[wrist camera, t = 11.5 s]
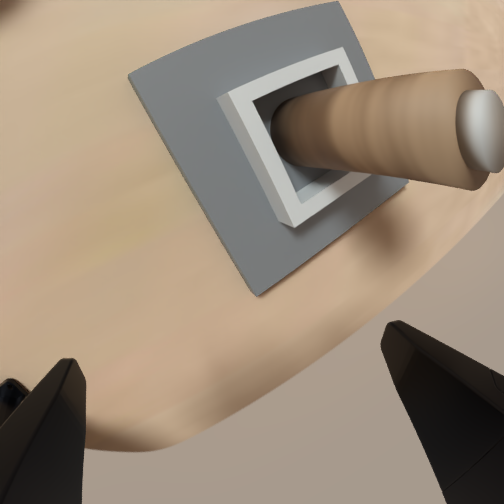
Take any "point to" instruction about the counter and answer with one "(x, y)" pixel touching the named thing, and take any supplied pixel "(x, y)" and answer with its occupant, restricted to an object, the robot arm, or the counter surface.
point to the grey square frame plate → (261, 136)
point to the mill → (398, 128)
